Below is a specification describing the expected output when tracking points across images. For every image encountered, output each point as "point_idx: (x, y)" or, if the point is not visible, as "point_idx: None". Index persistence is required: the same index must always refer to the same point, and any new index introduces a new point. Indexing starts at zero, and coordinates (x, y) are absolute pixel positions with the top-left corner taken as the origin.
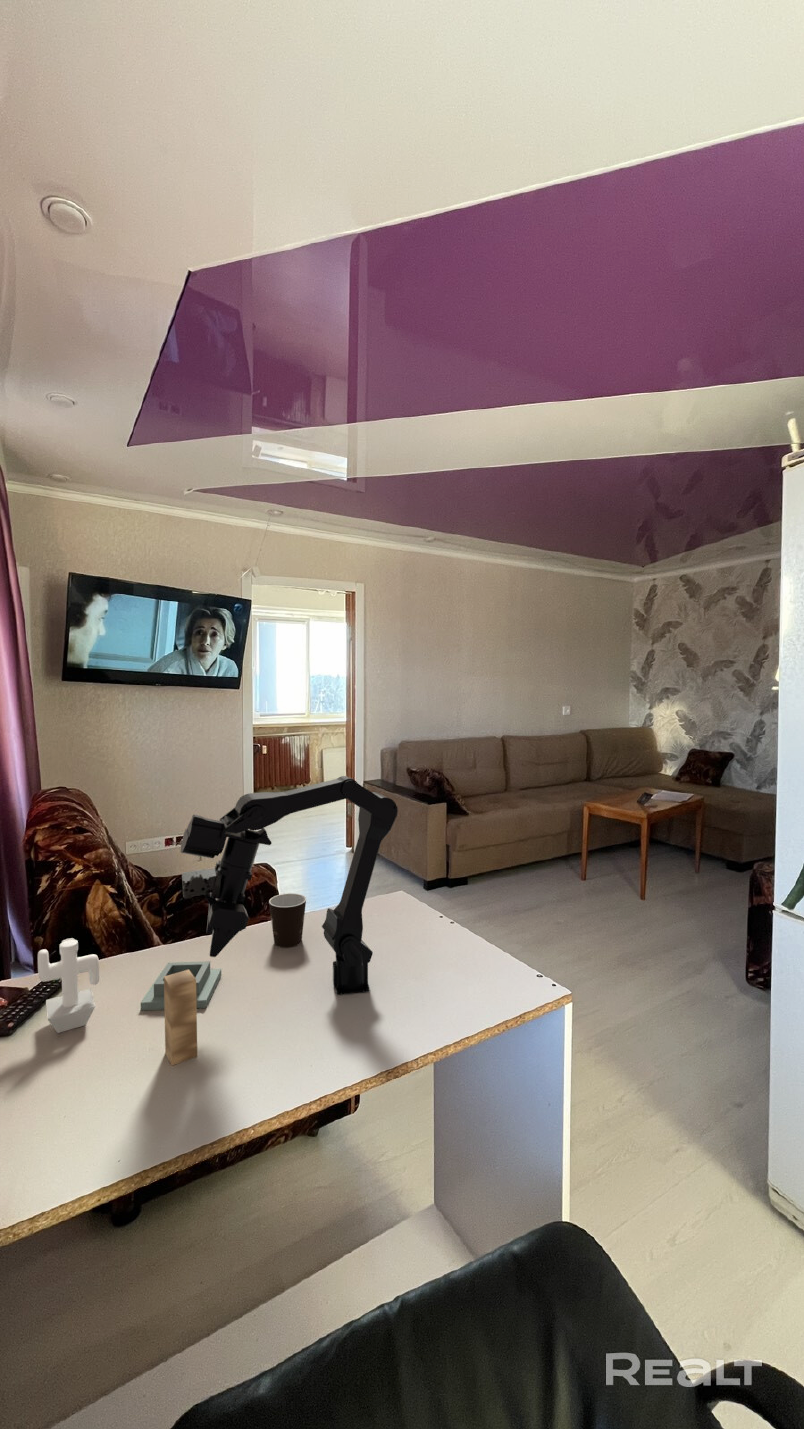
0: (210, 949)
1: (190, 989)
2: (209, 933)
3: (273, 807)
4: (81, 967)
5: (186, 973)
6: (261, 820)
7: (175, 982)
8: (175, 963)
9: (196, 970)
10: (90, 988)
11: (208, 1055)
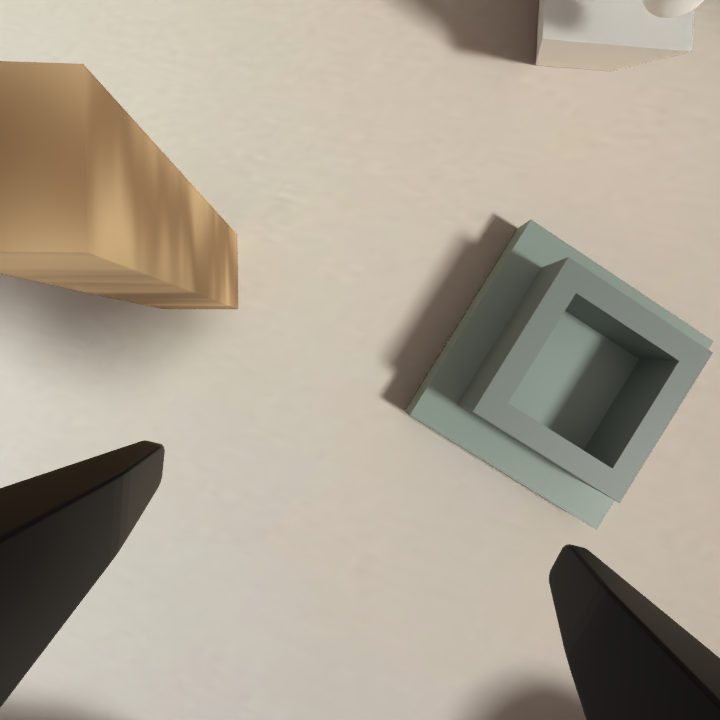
0: (102, 460)
1: None
2: (558, 560)
3: None
4: None
5: (29, 217)
6: None
7: None
8: (686, 376)
9: (608, 440)
10: (691, 49)
11: (146, 337)
